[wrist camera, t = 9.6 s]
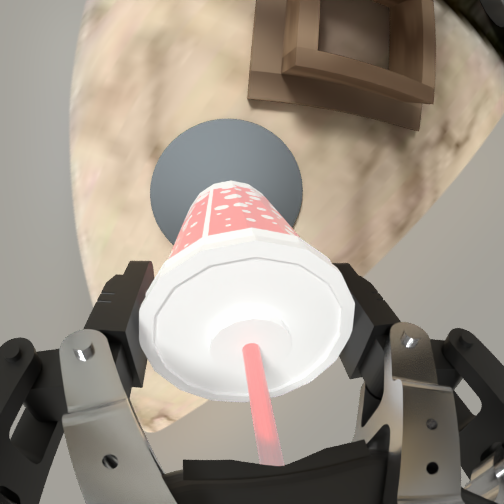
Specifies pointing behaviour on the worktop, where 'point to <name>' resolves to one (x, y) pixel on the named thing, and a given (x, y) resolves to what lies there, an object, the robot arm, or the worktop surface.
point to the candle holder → (494, 10)
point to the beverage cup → (244, 308)
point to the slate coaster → (223, 170)
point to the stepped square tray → (344, 63)
